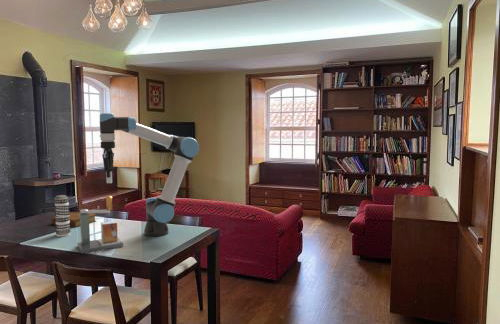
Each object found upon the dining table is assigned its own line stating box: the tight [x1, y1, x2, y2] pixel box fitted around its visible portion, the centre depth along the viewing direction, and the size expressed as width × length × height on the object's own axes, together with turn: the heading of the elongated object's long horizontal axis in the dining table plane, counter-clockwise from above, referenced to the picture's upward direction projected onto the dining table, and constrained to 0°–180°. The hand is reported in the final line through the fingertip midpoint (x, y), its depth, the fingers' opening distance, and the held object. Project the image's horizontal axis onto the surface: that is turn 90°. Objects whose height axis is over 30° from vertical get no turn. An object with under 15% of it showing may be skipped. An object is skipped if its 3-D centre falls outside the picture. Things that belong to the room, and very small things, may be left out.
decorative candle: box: [53, 194, 72, 237], centre depth 247 cm, size 9×9×25 cm
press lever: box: [79, 195, 113, 214], centre depth 222 cm, size 18×4×10 cm, turn 96°
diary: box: [50, 211, 97, 228], centre depth 278 cm, size 23×19×6 cm
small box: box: [100, 220, 119, 242], centre depth 224 cm, size 8×6×10 cm
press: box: [76, 213, 124, 254], centre depth 222 cm, size 22×15×19 cm
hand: (109, 182), depth 221 cm, fingers closed
